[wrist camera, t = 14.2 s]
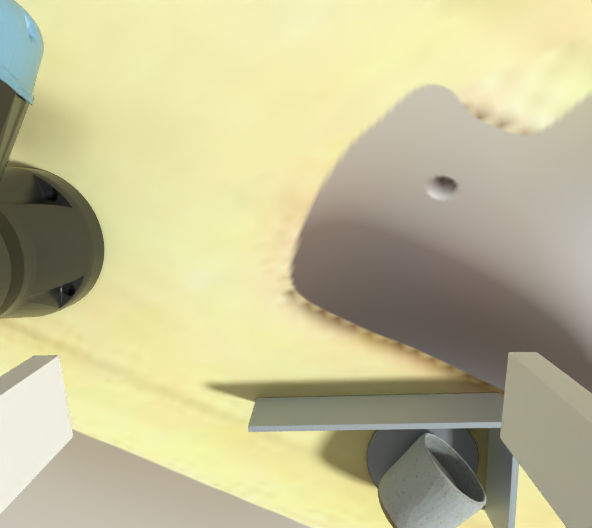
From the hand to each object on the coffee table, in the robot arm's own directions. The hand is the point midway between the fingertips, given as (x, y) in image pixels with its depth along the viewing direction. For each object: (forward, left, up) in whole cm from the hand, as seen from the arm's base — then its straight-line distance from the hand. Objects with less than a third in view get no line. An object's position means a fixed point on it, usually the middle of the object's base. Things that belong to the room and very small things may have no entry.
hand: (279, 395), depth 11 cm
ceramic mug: (+12, -25, -27) cm, 39 cm away
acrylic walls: (+6, -24, -27) cm, 37 cm away
